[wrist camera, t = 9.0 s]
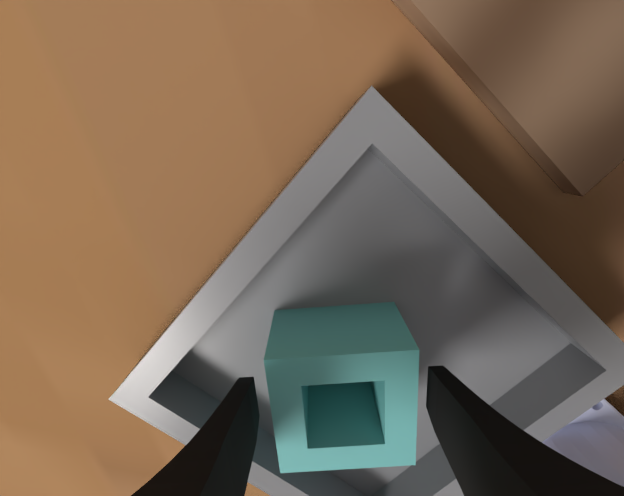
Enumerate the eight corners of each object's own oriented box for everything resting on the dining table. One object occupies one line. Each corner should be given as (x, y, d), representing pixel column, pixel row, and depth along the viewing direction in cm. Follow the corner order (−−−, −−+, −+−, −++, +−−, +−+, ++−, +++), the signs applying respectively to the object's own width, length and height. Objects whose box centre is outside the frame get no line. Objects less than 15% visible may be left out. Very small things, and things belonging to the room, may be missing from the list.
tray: (596, 333, 16) (648, 367, 13) (367, 506, 19) (376, 558, 17) (359, 97, 12) (371, 85, 10) (138, 361, 16) (108, 399, 14)
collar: (393, 301, 14) (419, 349, 11) (393, 398, 16) (415, 465, 13) (274, 310, 14) (263, 360, 11) (286, 404, 16) (280, 473, 13)
